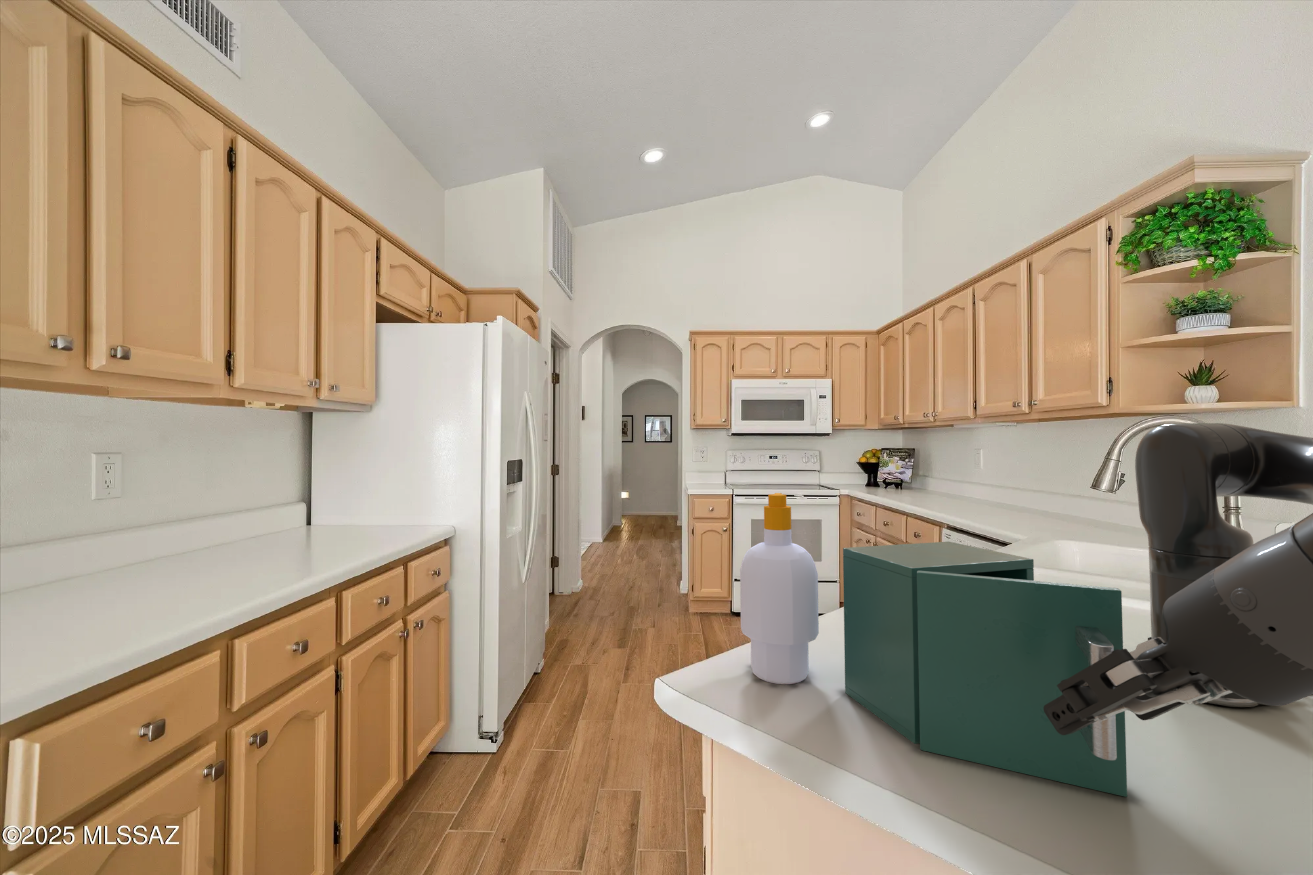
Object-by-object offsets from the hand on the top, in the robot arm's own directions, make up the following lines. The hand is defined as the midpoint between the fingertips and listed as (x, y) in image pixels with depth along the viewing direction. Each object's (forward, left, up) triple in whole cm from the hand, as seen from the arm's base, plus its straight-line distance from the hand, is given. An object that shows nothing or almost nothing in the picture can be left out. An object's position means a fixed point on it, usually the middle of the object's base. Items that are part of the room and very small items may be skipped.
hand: (1094, 714), depth 43 cm
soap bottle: (+26, -23, -9) cm, 36 cm away
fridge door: (+4, -4, -9) cm, 10 cm away
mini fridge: (+8, -18, -9) cm, 21 cm away
